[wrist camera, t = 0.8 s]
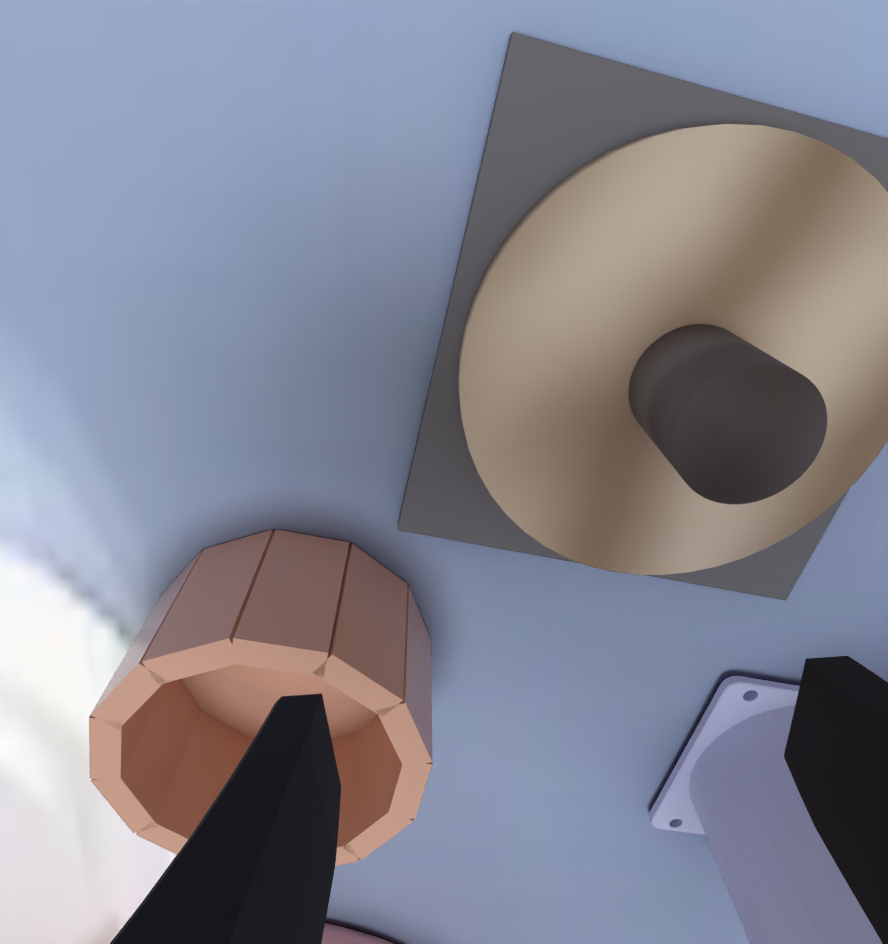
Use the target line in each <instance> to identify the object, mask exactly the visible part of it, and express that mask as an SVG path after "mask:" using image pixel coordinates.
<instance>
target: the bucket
mask: <svg viewBox="0 0 888 944" xmlns="http://www.w3.org/2000/svg"><path fill="white" fill-rule="evenodd" d="M321 693H322V696H323V701H324V706H325V711H326V715H327V720H328V725H329V730H330V735H331V740H332V744H333V749H334V754H335V759H336V764H337V769H338V774H339V778H340V783H341V799H340V814H339V828H338V841H337V853H336V862H335V866H338V865H343V864H347V863H352V862H356V861H359V858H360V859H364V858H365V857H366V856H368V855H369V854H370V853H372V852H373V851H374V850H376V849H377V848H378V847H380V846H381V845H382V844H384V843H385V842H386V841H388V840H389V839H390V838H392V837H393V836H394V835H396V834H397V833H398V832H400V831H401V830H402V829H404V828H405V827H406V826H408V825H409V824H410V823H412V822H413V819H415V818H416V814H417V811H418V808H419V805H420V802H421V799H422V796H423V792H424V789H425V786H426V783H427V780H428V777H429V773H430V770H431V767H432V705H431V638H430V636H429V633H428V631H427V628H426V626H425V623H424V621H423V619H422V616H421V614H420V611H419V609H418V606H417V604H416V601H415V599H414V596H413V594H412V591H411V589H410V587H409V586H407V583H406V582H404V581H403V580H402V579H400V578H399V577H398V576H396V575H395V574H393V573H392V572H391V571H389V570H388V569H387V568H385V567H384V566H382V565H381V564H380V563H378V562H377V561H376V560H374V559H373V558H372V557H370V556H369V555H367V554H366V553H365V552H363V551H362V550H361V549H359V548H358V547H356V546H355V545H354V544H352V545H351V546H350V547H349V542H345V541H339V540H333V539H328V538H322V537H316V536H311V535H305V534H299V533H294V532H288V531H283V530H277V529H276V530H275V532H273V530H268V531H265V532H261V533H258V534H254V535H251V536H247V537H244V538H240V539H237V540H233V541H230V542H226V543H223V544H219V545H216V546H212V547H209V548H205V549H204V550H203V551H202V550H201V551H200V553H199V554H198V555H197V556H196V557H195V558H194V559H193V560H192V561H191V563H190V564H189V565H188V566H187V567H186V568H185V569H184V570H183V571H182V572H181V574H180V575H179V576H178V577H177V578H176V579H175V580H174V581H173V582H172V584H171V585H170V586H169V587H168V588H167V589H166V590H165V591H164V592H163V593H162V595H161V596H160V598H159V600H158V601H157V603H156V605H155V606H154V608H153V610H152V611H151V613H150V615H149V616H148V618H147V620H146V622H145V623H144V625H143V627H142V628H141V630H140V632H139V633H138V635H137V637H136V638H135V640H134V642H133V644H132V645H131V647H130V649H129V650H128V652H127V654H126V655H125V657H124V659H123V660H122V662H121V664H120V665H119V667H118V669H117V671H116V672H115V674H114V676H113V677H112V679H111V681H110V682H109V684H108V686H107V687H106V689H105V691H104V693H103V694H102V696H101V698H100V699H99V701H98V703H97V704H96V706H95V708H94V709H93V711H92V713H91V715H90V717H89V746H90V778H92V780H91V782H92V783H93V784H94V785H95V786H96V788H97V789H98V790H99V791H100V793H101V794H102V795H103V796H104V798H105V799H106V800H107V801H108V802H109V804H110V805H111V806H112V807H113V809H114V810H115V811H116V812H117V813H118V815H119V816H120V817H121V818H122V820H123V821H124V822H125V823H126V825H127V826H128V827H129V828H130V829H131V831H132V832H133V833H135V832H137V834H136V835H137V836H139V837H142V838H144V839H146V840H148V841H150V842H152V843H154V844H156V845H158V846H160V847H162V848H165V849H167V850H169V851H171V852H173V853H175V854H178V853H179V852H180V850H181V849H182V848H183V846H184V845H185V843H186V842H187V840H188V839H189V838H190V836H191V835H192V833H193V832H194V830H195V829H196V827H197V826H198V824H199V823H200V821H201V820H202V819H203V817H204V816H205V814H206V813H207V811H208V810H209V808H210V807H211V805H212V804H213V802H214V801H215V799H216V798H217V796H218V795H219V793H220V792H221V790H222V789H223V787H224V786H225V784H226V783H227V781H228V780H229V778H230V776H231V775H232V773H233V772H234V770H235V768H236V767H237V765H238V764H239V762H240V761H241V759H242V757H243V756H244V754H245V753H246V751H247V749H248V748H249V746H250V744H251V743H252V741H253V740H254V738H255V736H256V735H257V733H258V731H259V730H260V728H261V726H262V725H263V723H264V721H265V719H266V718H267V716H268V714H269V713H270V711H271V709H272V707H273V706H274V704H275V702H276V701H277V700H278V699H279V698H280V697H281V696H293V695H307V694H321Z"/></svg>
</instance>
